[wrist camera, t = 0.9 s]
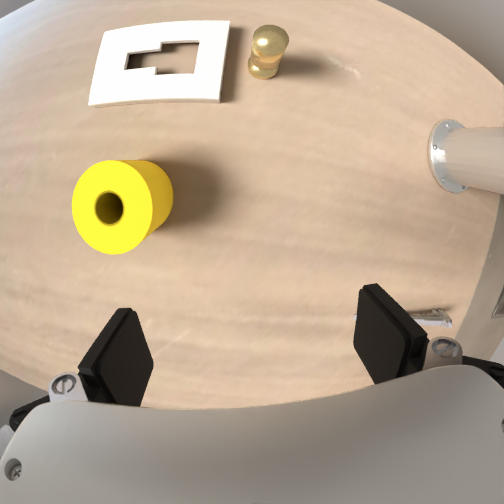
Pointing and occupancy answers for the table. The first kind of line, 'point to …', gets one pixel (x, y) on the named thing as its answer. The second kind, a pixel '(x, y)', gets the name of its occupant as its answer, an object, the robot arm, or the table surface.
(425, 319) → the caliper
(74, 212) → the yellow toilet paper roll
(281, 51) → the brass peg
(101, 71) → the keyhole plate
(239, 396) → the table surface
